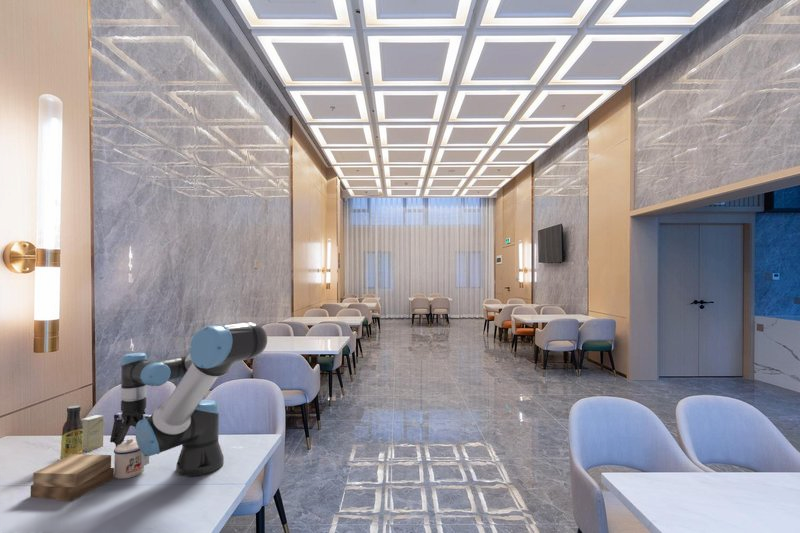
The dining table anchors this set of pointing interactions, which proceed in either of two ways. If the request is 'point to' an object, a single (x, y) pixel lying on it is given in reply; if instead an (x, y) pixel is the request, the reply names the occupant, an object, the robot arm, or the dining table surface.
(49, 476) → the tower top block
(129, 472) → the teacup with lid
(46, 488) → the tower base block
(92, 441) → the skincare box
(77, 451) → the sauce bottle
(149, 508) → the dining table surface
